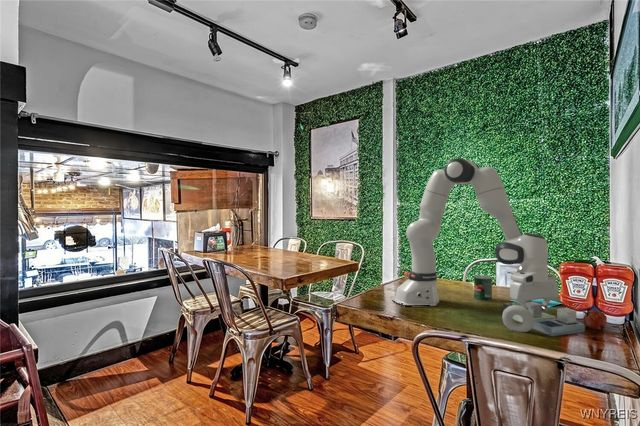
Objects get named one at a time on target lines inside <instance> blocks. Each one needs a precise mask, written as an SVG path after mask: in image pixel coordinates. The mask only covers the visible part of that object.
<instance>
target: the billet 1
mask: <svg viewBox="0 0 640 426" xmlns="http://www.w3.org/2000/svg"><path fill="white" fill-rule="evenodd" d="M542 304H543V303H538V302H535V301H531V302H526V304H525V305H526V307H528V311H529V312H530V313H531V314H532V316H533V319H535V318H542V312H543V309H542Z"/></svg>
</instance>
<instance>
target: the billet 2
mask: <svg viewBox="0 0 640 426" xmlns="http://www.w3.org/2000/svg"><path fill="white" fill-rule="evenodd" d="M556 309H557V310H556V311H557V312H556V319H557V322H560V323H563V324H566V325H573V324H576V322H577V310H575V309H571V308H569V307H558V308H556Z"/></svg>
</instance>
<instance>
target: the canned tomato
mask: <svg viewBox="0 0 640 426" xmlns="http://www.w3.org/2000/svg"><path fill="white" fill-rule="evenodd" d="M473 279H474V280H473V281H474V282H473V291H474V292H473V299H474V300H476V301H477V302H479V301H480V302H491V301H492V300H493V298H492V297H493V277H492V276H489V275H483V274H482V275H481V274H479V275H474V278H473Z"/></svg>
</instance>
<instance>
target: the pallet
mask: <svg viewBox="0 0 640 426" xmlns="http://www.w3.org/2000/svg"><path fill="white" fill-rule="evenodd" d="M532 329H533V330H535V331H539V332H541V333H543V334H546V335H547V336H551V337H557V336H563V335H570V334H578V333H586V331H585V330H586V325H585V323H582V322H578V321H576V324H573V325H566V324H563V323H560V322H557V318H556V319H549V320H541V321H534V324H533V327H532Z"/></svg>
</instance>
